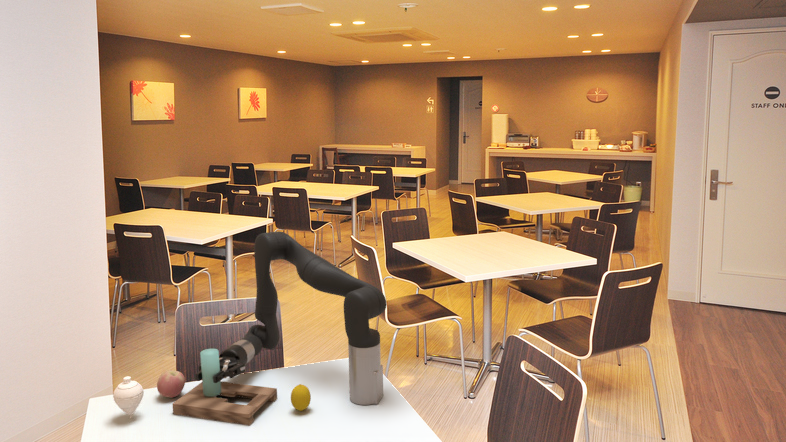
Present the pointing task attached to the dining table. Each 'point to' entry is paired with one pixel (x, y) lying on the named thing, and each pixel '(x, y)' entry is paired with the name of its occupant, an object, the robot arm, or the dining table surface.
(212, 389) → the headed peg
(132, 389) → the spinning top
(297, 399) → the lemon
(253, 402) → the keyhole plate
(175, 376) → the apple
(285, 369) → the dining table surface
